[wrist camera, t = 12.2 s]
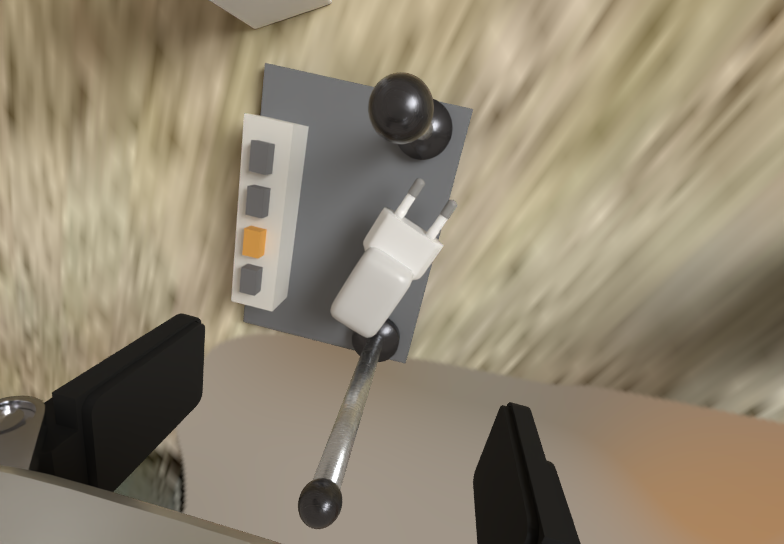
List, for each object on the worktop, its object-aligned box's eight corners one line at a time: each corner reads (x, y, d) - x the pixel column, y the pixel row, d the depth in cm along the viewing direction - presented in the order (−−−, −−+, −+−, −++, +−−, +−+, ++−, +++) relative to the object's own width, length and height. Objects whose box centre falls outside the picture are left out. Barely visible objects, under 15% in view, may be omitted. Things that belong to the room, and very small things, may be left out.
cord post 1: (404, 321, 31) (366, 503, 15) (394, 360, 33) (349, 565, 17) (358, 309, 32) (274, 477, 16) (350, 349, 33) (265, 541, 17)
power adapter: (411, 166, 27) (403, 171, 22) (465, 203, 28) (472, 217, 22) (338, 283, 31) (316, 313, 25) (387, 314, 31) (376, 350, 26)
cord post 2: (458, 106, 26) (488, 40, 10) (443, 164, 27) (448, 193, 11) (402, 93, 26) (339, 8, 10) (390, 152, 27) (318, 163, 11)
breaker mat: (471, 110, 26) (478, 102, 22) (406, 357, 34) (400, 391, 29) (271, 65, 27) (235, 48, 22) (248, 316, 34) (218, 344, 30)
